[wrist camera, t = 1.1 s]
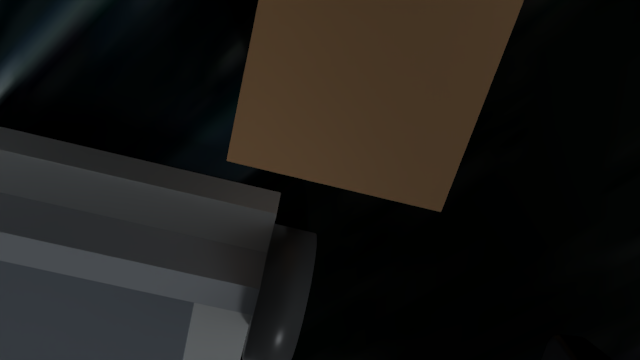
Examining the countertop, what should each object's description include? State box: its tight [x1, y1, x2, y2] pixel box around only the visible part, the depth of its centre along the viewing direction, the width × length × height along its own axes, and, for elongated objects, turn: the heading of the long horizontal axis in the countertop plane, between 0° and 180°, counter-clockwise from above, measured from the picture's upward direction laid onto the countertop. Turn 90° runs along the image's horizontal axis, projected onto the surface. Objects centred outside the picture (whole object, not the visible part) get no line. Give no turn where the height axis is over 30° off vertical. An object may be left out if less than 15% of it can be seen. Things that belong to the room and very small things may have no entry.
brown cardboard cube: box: [226, 0, 524, 212], centre depth 15 cm, size 5×5×6 cm
